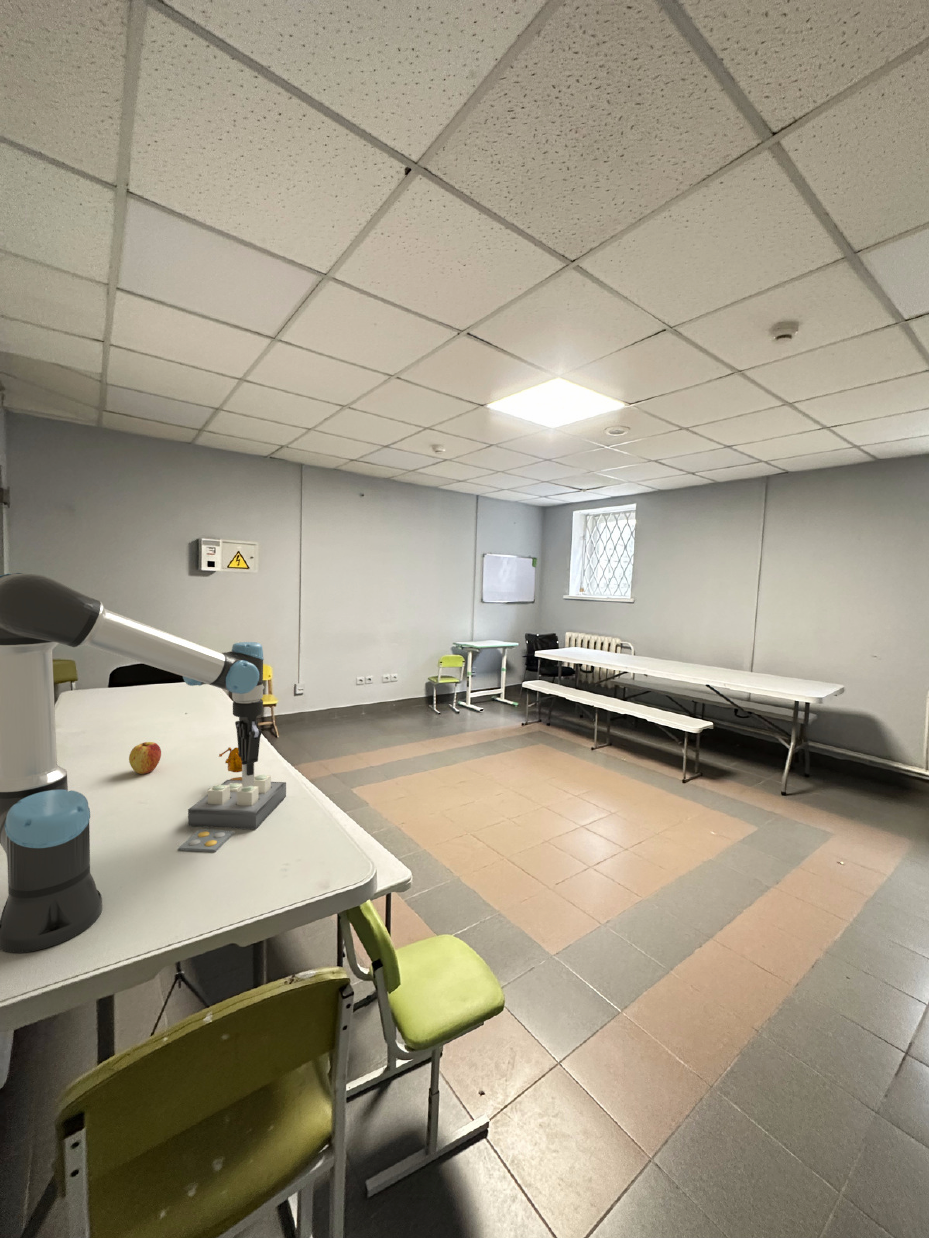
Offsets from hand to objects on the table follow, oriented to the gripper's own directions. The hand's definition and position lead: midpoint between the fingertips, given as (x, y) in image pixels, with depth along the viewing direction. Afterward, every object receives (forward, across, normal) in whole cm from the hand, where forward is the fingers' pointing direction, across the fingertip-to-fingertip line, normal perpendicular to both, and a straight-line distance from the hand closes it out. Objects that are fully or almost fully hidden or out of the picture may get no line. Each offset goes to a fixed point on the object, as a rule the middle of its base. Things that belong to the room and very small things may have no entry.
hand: (248, 785), depth 135 cm
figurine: (+9, +25, -6) cm, 27 cm away
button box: (+9, +6, 0) cm, 11 cm away
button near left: (+5, +6, +6) cm, 10 cm away
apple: (+9, +54, +14) cm, 56 cm away
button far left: (+8, +11, 0) cm, 14 cm away
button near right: (+5, 0, 0) cm, 5 cm away
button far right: (+5, +6, -6) cm, 9 cm away
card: (+9, -6, +12) cm, 16 cm away
